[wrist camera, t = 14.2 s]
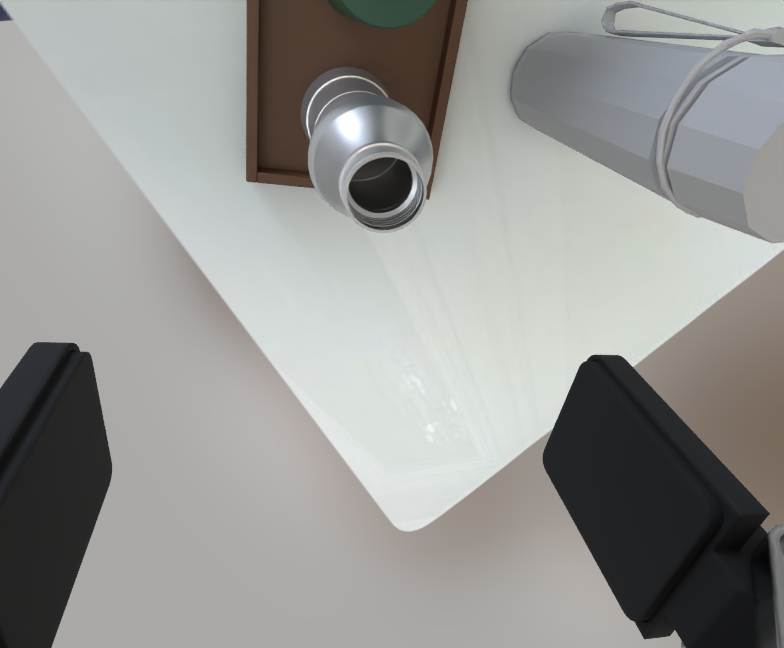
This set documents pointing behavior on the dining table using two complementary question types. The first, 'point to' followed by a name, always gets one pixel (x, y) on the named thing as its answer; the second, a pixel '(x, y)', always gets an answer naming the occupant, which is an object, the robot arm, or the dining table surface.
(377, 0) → the green bottle
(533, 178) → the dining table surface
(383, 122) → the silver metal bottle
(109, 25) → the dining table surface
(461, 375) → the dining table surface
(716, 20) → the dining table surface
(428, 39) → the tray
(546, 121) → the water bottle
